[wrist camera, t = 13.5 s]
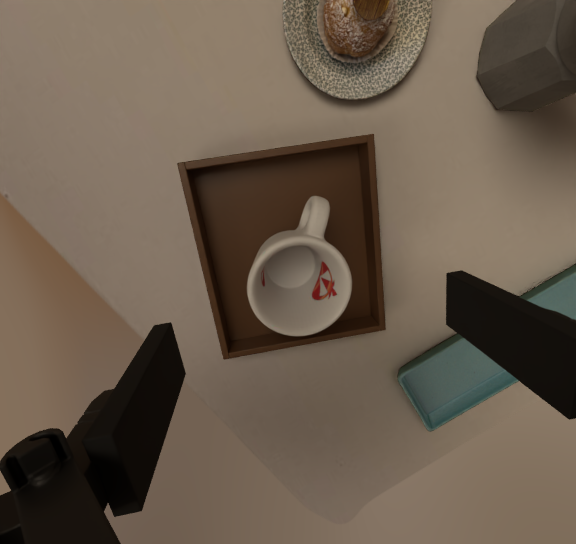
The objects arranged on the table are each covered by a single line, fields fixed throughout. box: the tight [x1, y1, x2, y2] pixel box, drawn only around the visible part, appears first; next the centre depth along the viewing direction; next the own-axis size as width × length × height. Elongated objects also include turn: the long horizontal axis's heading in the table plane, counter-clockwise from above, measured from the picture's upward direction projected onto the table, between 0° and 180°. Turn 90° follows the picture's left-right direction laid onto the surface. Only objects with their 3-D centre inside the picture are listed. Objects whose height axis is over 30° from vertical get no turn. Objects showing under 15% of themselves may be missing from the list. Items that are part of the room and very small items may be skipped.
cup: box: [247, 196, 352, 336], centre depth 28 cm, size 11×8×8 cm
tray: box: [177, 134, 386, 359], centre depth 30 cm, size 16×18×3 cm
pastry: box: [283, 0, 432, 100], centre depth 24 cm, size 12×12×5 cm
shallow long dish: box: [398, 264, 576, 431], centre depth 36 cm, size 26×9×2 cm, turn 121°
